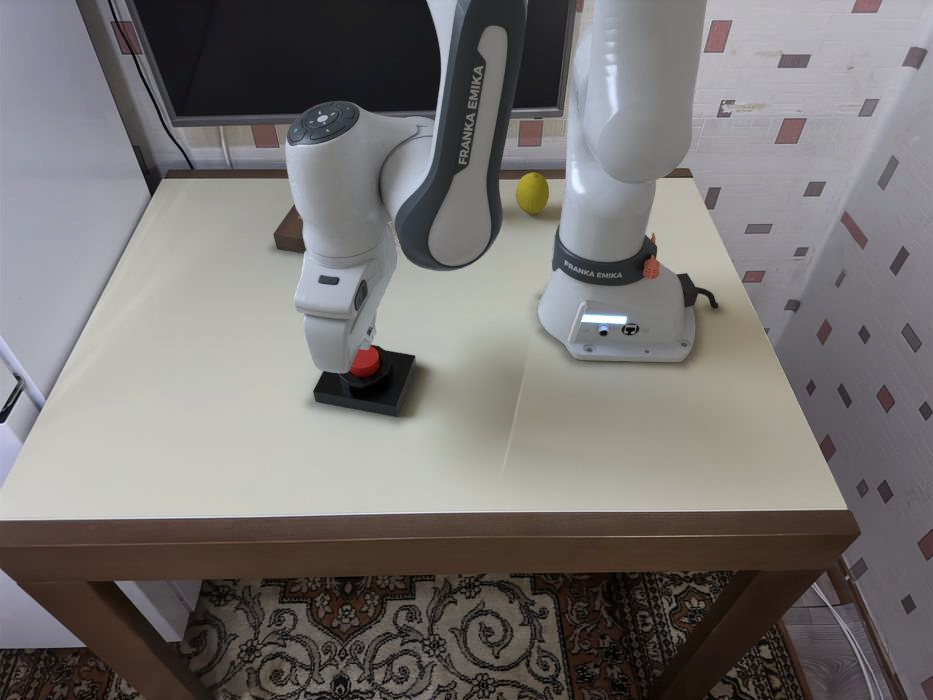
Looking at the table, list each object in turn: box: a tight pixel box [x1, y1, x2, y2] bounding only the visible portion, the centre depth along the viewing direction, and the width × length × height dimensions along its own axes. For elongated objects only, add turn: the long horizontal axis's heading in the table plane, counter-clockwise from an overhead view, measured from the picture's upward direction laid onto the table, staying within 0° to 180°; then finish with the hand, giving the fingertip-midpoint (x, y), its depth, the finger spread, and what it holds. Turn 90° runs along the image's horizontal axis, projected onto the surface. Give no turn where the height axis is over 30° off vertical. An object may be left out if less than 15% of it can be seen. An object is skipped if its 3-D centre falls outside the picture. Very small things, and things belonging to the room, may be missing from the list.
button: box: [350, 346, 380, 377], centre depth 86 cm, size 4×4×2 cm
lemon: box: [515, 172, 550, 215], centre depth 113 cm, size 6×6×8 cm
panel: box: [272, 203, 306, 254], centre depth 110 cm, size 13×10×3 cm
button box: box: [312, 344, 417, 418], centre depth 88 cm, size 11×9×4 cm
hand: (366, 341), depth 84 cm, fingers closed
